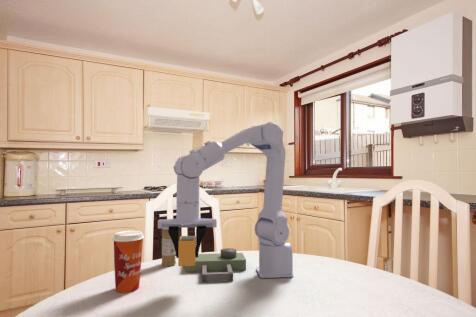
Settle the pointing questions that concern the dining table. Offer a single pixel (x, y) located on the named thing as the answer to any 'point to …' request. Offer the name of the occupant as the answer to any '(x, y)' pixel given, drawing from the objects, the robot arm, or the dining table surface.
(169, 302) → the dining table surface
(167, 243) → the sprinkles bottle
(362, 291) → the dining table surface
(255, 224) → the robot arm
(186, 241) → the chute block
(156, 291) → the dining table surface
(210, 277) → the green block with knob
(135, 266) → the paper cup
